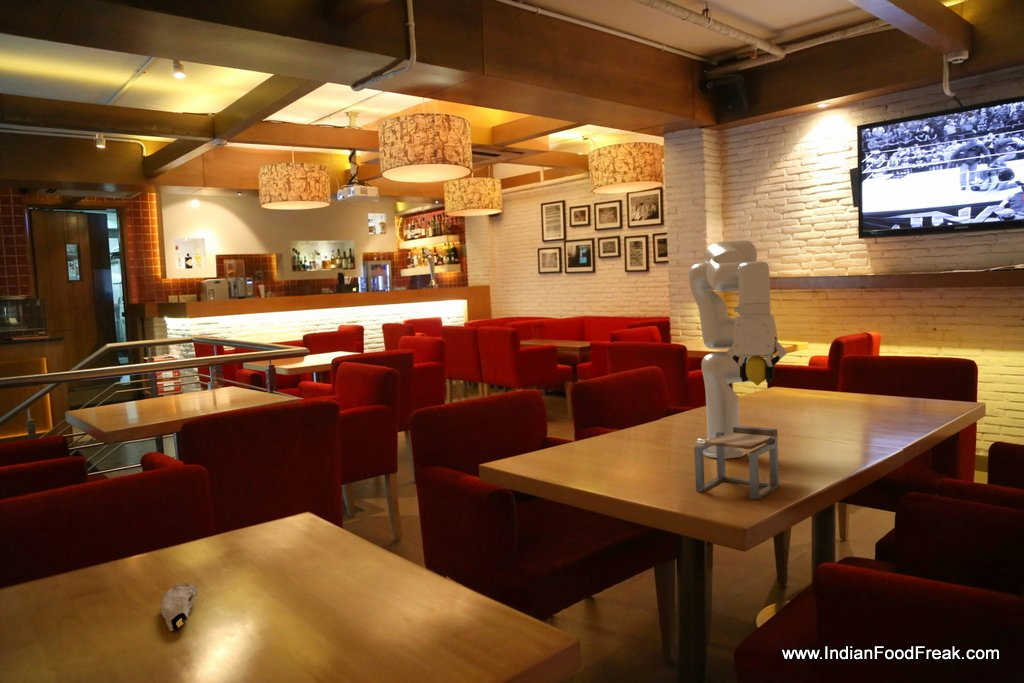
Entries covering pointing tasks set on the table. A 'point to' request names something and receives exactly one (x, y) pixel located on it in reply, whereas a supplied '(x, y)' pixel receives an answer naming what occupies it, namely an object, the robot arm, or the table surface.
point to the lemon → (756, 369)
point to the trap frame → (753, 468)
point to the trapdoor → (744, 437)
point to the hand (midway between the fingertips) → (757, 380)
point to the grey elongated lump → (178, 602)
